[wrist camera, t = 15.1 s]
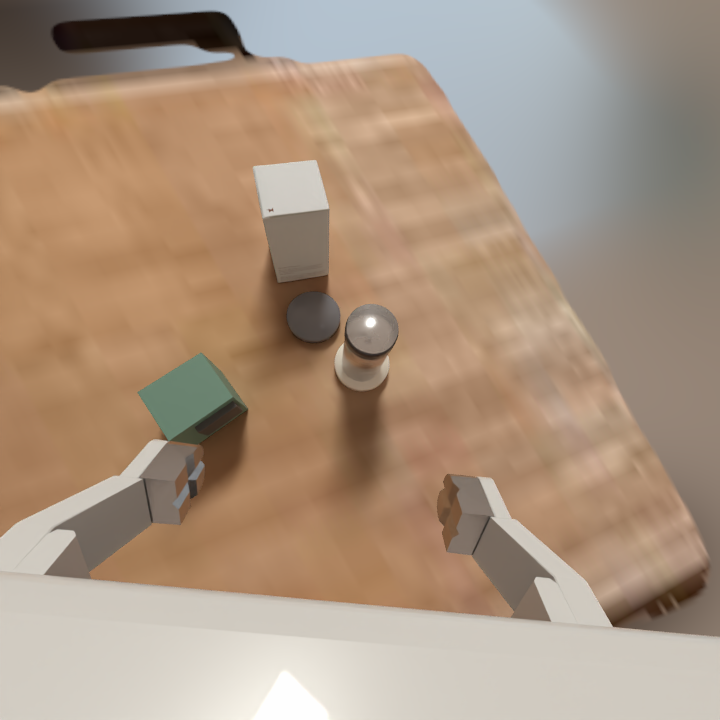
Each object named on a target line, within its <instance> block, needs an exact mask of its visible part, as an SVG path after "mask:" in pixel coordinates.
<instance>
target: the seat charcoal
mask: <svg viewBox="0 0 720 720" xmlns="http://www.w3.org/2000/svg"><path fill="white" fill-rule="evenodd" d="M287 322H288V325H289V328H290V330H291V332H292V333H293V334H294V335H295V336H296V337H297V338H298V339H300V340H302V341H304V342H308V343H320V342H323V341H326V340H328V339H329V338H331V337H332V336H333V335H334V334H335V333H336V331H337V329H338V327H339V324H340V310H339V307H338V305H337V303H336V302H335V301H334V300H333V299H332V298H331V297H330V296H328V295H326V294H324V293H321V292H306V293H303V294H300V295H299V296H297V297H296V298H295V299H293V301H292V302H291V303H290V305H289V307H288V310H287Z"/></svg>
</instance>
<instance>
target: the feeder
mask: <svg viewBox="0 0 720 720" xmlns="http://www.w3.org/2000/svg"><path fill="white" fill-rule="evenodd" d="M138 394H139V396H140V397H141V399H142V400H143V402H144V403H145V405H146V407H147V408H148V410H149V411H150V413H151V414H152V416H153V417H154V419H155V421H156V422H157V424H158V425H159V427H160V428H161V430H162V431H163V433H164V435H165V436H166V438H167V439H168V441H174V442H181V443H188V444H195V445H198V444H199V443H201V442H202V441H204V440H205V439H207V438H208V437H209V436H211V435H212V434H214V433H215V432H216V431H218V430H219V429H221V428H222V427H224V426H225V425H226V424H228V423H229V422H231V421H232V420H233V419H235V418H236V417H238V416H239V415H241V414H242V413H243V412H245V411H246V410H248V408H247V407H246V405H245V404H244V403H243V401H242V400H241V398H240V397H239V396H238V394H237V393H236V391H235V390H234V389H233V387H232V386H231V384H230V383H229V382H228V380H227V379H226V377H225V376H224V375H223V373H222V372H221V371H220V370H219V369H218V368H217V367H216V366H215V365H214V364H213V363H212V362H211V361H210V360H209V359H208V358H207V357H206V356H205V355H203V354H202V353H200V354H198V355H196V356H195V357H193V358H192V359H190V360H188V361H187V362H185V363H184V364H182V365H180V366H179V367H177V368H176V369H174V370H172V371H171V372H169V373H168V374H166V375H164V376H163V377H161V378H160V379H158V380H156V381H155V382H153V383H152V384H150V385H148V386H147V387H145V388H144V389H142V390H140V391H139V392H138Z"/></svg>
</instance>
